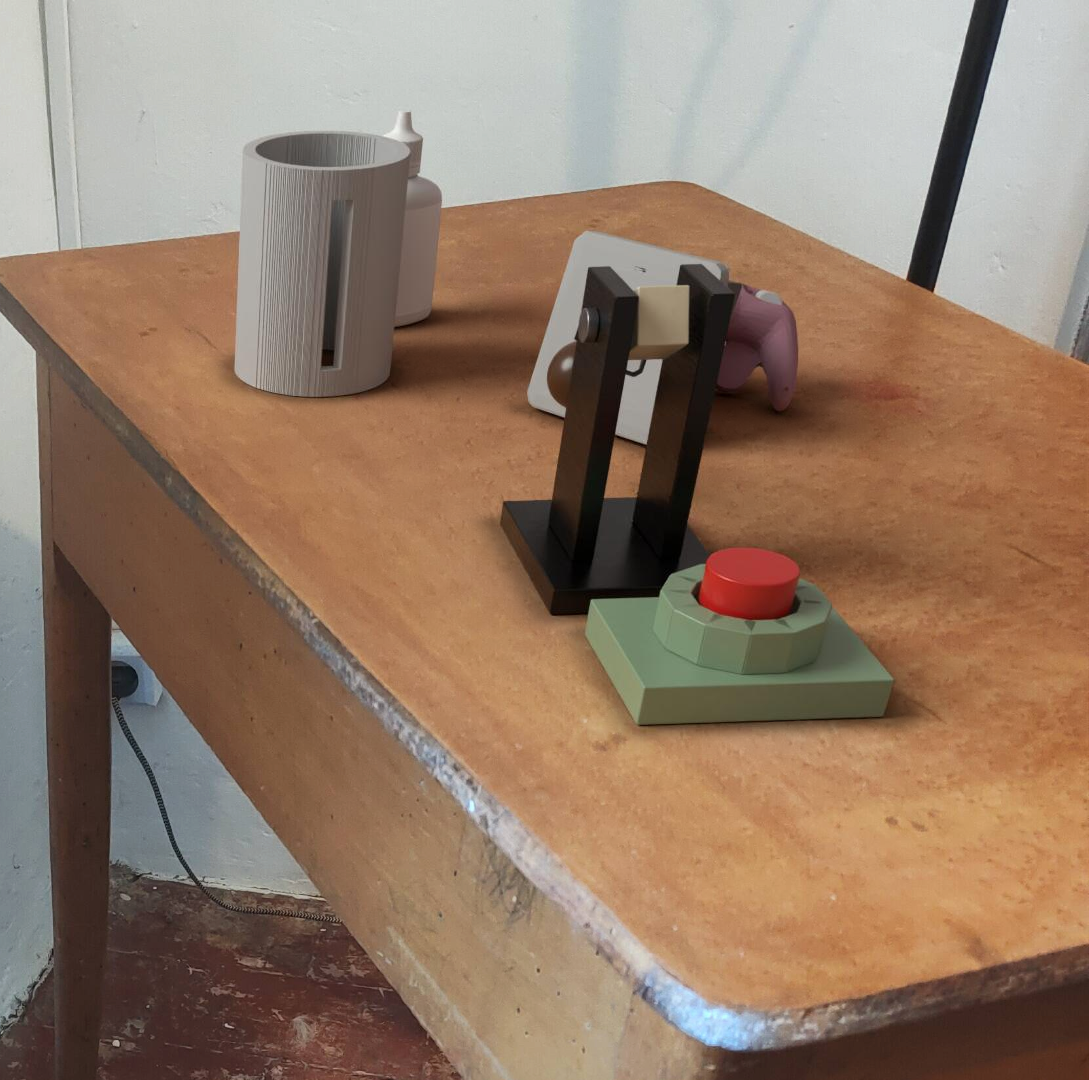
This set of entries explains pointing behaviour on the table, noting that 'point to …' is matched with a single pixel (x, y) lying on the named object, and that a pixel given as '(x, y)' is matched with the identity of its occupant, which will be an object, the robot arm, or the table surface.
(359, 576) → the table surface
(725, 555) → the button
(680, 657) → the button block
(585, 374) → the bracket
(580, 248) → the electrical switch
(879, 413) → the table surface
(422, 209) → the eye dropper bottle
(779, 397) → the video game controller
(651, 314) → the lever
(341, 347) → the cup
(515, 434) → the table surface
